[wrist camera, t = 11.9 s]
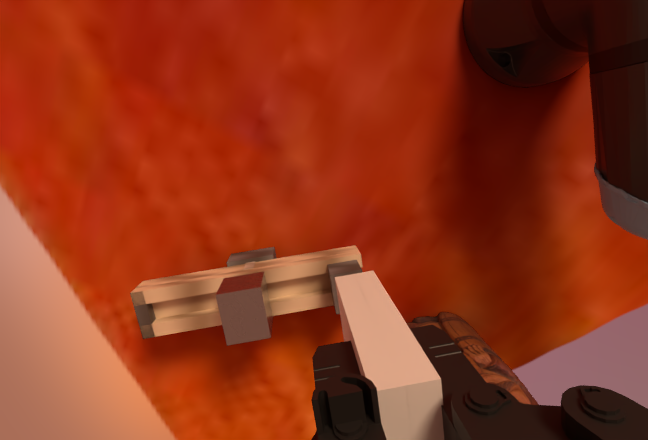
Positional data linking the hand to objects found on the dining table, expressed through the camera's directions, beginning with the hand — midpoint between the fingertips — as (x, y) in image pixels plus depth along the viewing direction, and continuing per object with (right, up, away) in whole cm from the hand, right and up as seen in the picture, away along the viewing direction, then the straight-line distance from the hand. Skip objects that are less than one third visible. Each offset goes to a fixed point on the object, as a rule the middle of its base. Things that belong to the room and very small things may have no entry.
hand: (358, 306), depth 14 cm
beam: (-9, -3, +29) cm, 31 cm away
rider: (-9, -4, +24) cm, 26 cm away
